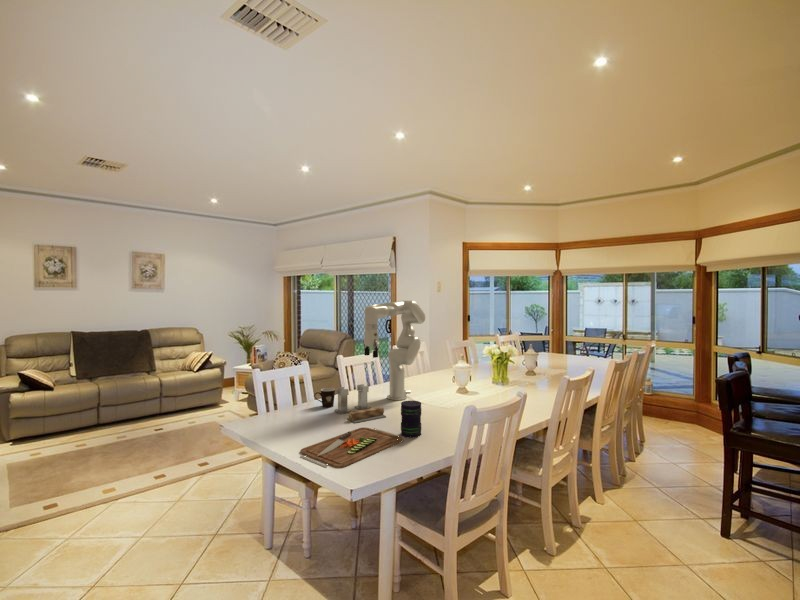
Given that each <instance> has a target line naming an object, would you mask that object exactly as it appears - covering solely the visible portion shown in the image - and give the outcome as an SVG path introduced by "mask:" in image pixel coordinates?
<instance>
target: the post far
mask: <svg viewBox="0 0 800 600" xmlns="http://www.w3.org/2000/svg"><path fill="white" fill-rule="evenodd" d="M356 391H357V405H354V408H355V409H357V411H359V410H365V409H370V408H372V407H371V406H369V405H368V393H369V385H364V384H363V383H362V384H357V385H356Z"/></svg>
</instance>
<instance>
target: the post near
mask: <svg viewBox="0 0 800 600" xmlns="http://www.w3.org/2000/svg"><path fill="white" fill-rule="evenodd" d="M349 390H350V389H349V388H345V386H341V387H337V388H336V394H337V408H335V409H334V412H335V413H337V414H338V415H342V414H343V415H344V414H347V413H348V414H349V412H352V410H350V409H348V396H349Z"/></svg>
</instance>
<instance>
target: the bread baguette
mask: <svg viewBox="0 0 800 600" xmlns="http://www.w3.org/2000/svg"><path fill="white" fill-rule="evenodd" d="M384 413H385V410H384V407H381V406H377V407H371V408H370V409H365V410H354V411H351V412H349V413H348V418H349V419H350V420H352V421H354V420H359V419H364V418H369V417H374V416H380V415H384ZM350 420H349V421H350ZM352 421H351V422H352Z"/></svg>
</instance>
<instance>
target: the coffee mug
mask: <svg viewBox="0 0 800 600" xmlns="http://www.w3.org/2000/svg"><path fill="white" fill-rule="evenodd" d="M317 394H319V395H320V397H321V400H320V399H319V398H317V397H316V395H317ZM335 394H336V389H335V388H332V387H324V388H323V387H322V388H321V389H320V392H315V393H314V395H313V397H314V398H315V400H317V402H320V403H321V406H322V408H326V409H328V408H329V409H330V408H333V407H334V404H335V396H336V395H335Z"/></svg>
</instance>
